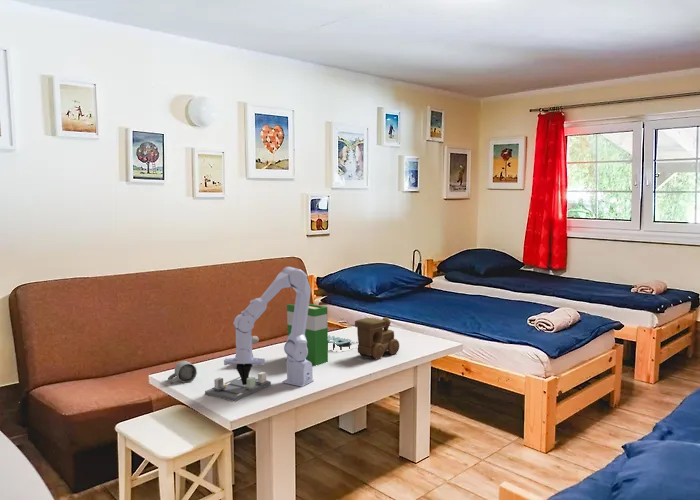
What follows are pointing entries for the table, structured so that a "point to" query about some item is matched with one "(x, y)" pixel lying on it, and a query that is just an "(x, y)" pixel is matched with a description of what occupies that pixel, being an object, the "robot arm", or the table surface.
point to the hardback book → (313, 332)
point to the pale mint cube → (251, 383)
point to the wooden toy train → (375, 337)
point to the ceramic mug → (183, 372)
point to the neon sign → (339, 342)
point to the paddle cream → (262, 378)
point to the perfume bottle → (254, 341)
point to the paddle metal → (218, 384)
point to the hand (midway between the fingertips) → (244, 383)
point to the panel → (235, 390)
